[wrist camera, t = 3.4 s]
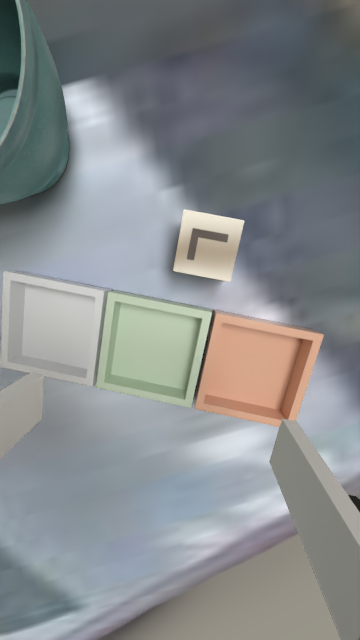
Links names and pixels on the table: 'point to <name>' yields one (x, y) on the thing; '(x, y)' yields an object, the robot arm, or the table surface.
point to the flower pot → (28, 107)
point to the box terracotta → (256, 368)
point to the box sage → (152, 347)
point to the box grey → (52, 326)
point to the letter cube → (207, 245)
